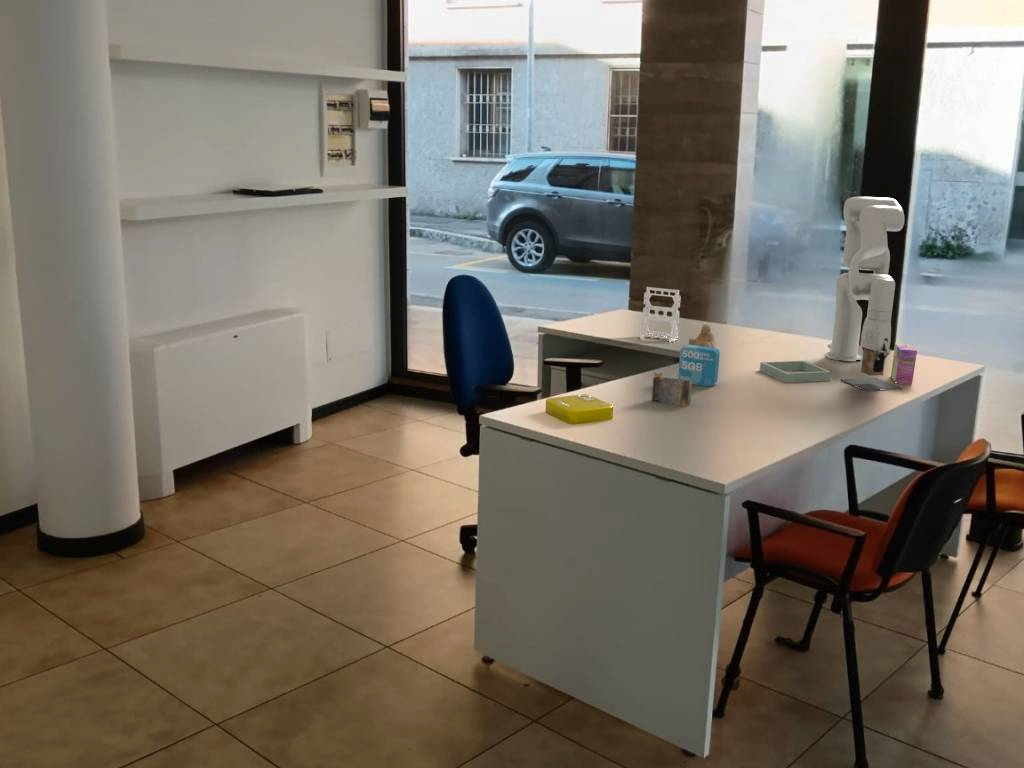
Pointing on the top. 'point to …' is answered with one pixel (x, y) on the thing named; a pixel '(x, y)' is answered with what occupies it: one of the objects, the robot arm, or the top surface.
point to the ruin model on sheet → (671, 390)
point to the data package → (699, 365)
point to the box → (903, 363)
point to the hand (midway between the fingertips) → (872, 369)
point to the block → (870, 362)
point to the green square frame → (810, 375)
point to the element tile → (579, 409)
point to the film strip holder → (665, 309)
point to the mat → (870, 383)
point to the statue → (704, 338)
